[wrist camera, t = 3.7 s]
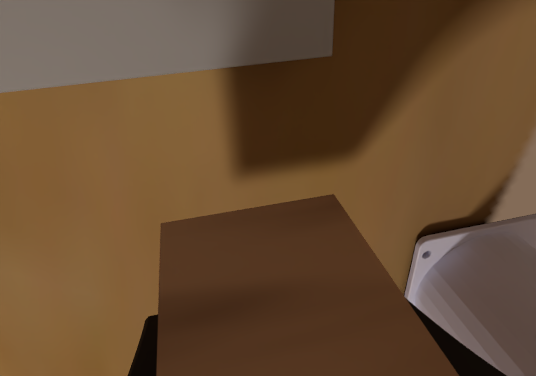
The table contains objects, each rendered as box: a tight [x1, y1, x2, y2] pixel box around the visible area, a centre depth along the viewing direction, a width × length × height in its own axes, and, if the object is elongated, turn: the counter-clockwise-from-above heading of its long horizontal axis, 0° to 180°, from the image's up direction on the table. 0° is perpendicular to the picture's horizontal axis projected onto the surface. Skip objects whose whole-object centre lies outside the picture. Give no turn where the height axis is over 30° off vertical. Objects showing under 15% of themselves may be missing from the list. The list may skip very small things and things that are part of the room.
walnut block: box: [156, 194, 459, 376], centre depth 9 cm, size 5×5×6 cm
